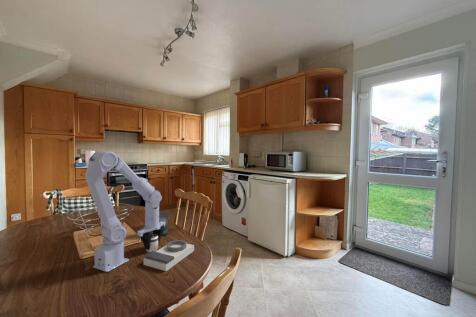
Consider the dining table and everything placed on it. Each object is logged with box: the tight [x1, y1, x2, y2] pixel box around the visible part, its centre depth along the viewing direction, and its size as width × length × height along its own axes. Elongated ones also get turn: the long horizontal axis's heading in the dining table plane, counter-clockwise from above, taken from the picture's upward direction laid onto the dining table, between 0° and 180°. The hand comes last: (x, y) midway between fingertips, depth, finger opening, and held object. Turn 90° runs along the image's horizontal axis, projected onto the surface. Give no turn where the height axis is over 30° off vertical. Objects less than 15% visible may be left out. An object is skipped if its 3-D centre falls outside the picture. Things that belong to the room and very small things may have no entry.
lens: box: [145, 234, 159, 253], centre depth 96 cm, size 5×5×6 cm
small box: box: [149, 212, 169, 237], centre depth 114 cm, size 11×6×10 cm, turn 105°
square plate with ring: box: [143, 239, 195, 272], centre depth 89 cm, size 18×11×4 cm, turn 157°
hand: (152, 246), depth 96 cm, fingers closed on lens, 5 cm apart
